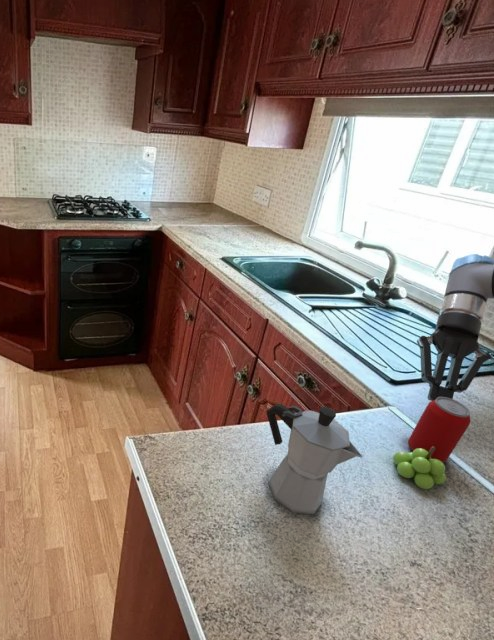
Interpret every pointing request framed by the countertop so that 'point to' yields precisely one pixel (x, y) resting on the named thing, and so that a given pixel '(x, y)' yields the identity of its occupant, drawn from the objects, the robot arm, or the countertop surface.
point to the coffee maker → (307, 455)
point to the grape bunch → (420, 467)
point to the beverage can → (440, 427)
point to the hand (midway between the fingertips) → (435, 417)
